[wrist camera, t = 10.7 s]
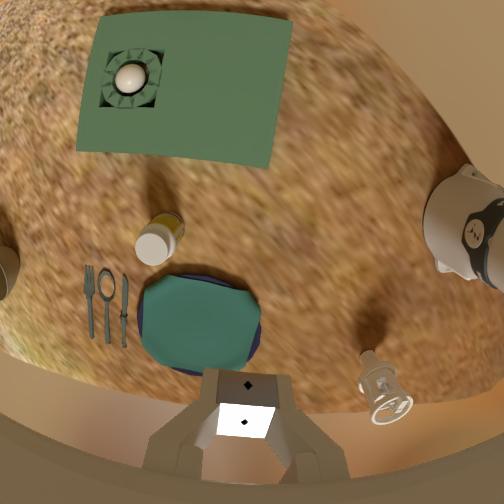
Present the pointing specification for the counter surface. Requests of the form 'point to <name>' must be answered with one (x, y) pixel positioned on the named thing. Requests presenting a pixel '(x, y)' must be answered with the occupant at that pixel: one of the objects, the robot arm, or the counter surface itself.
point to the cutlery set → (189, 321)
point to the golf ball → (130, 78)
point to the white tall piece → (382, 388)
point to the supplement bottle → (159, 238)
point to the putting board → (187, 85)
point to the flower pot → (8, 270)
